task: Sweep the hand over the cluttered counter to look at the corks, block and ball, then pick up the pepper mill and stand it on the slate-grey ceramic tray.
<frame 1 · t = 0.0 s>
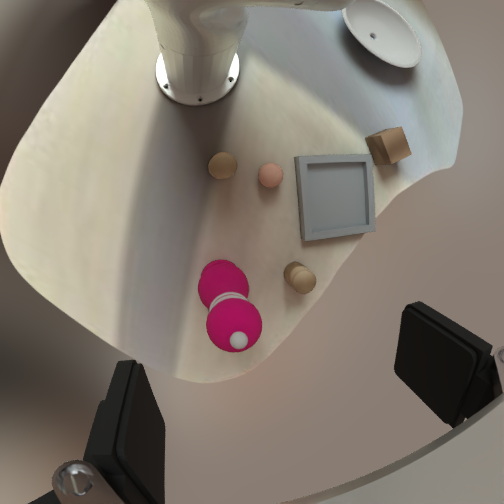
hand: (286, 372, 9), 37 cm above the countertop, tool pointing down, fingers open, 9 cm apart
ball: (270, 175, 43), point 2 cm above the countertop
tray: (335, 194, 47), on the countertop
dish: (370, 38, 41), on the countertop
walnut block: (380, 146, 47), on the countertop
cork b: (220, 166, 43), on the countertop
cork a: (294, 272, 49), on the countertop
pepper mill: (220, 278, 47), on the countertop
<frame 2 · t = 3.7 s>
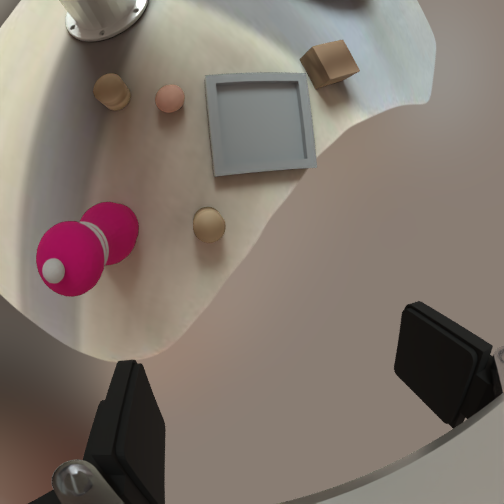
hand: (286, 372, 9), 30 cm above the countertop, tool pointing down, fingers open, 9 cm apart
ball: (169, 98, 32), point 2 cm above the countertop
tray: (259, 122, 36), on the countertop
walnut block: (321, 69, 36), on the countertop
cork b: (117, 97, 32), on the countertop
cork a: (207, 221, 38), on the countertop
pepper mill: (116, 227, 36), on the countertop
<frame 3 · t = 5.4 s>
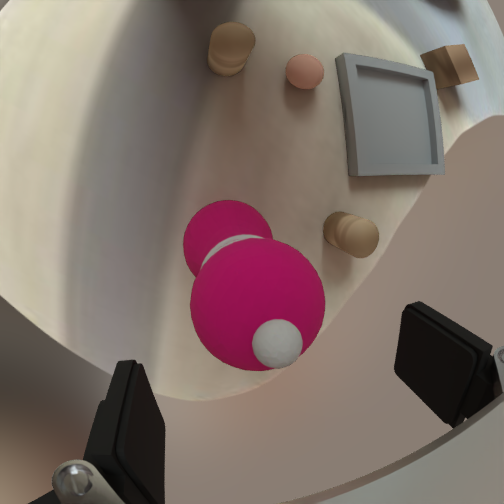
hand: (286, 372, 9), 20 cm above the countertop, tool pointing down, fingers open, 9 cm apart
ball: (304, 71, 24), point 2 cm above the countertop
tray: (391, 118, 28), on the countertop
walnut block: (437, 69, 28), on the countertop
cork b: (226, 59, 24), on the countertop
cork a: (338, 228, 30), on the countertop
pepper mill: (222, 234, 28), on the countertop
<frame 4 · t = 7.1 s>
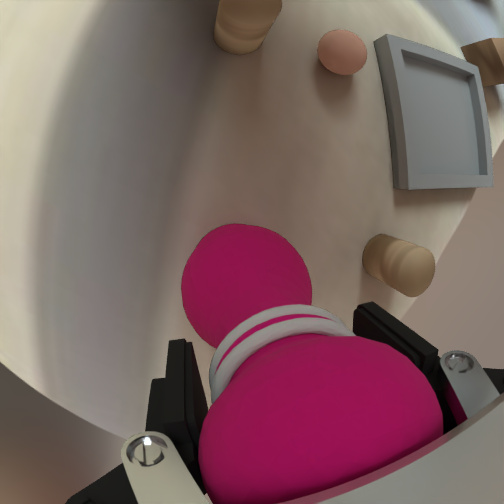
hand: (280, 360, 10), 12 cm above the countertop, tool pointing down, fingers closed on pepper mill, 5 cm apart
ball: (342, 52, 17), point 2 cm above the countertop
tray: (438, 118, 21), on the countertop
walnut block: (478, 65, 21), on the countertop
cork b: (238, 34, 17), on the countertop
cork a: (380, 255, 23), on the countertop
pepper mill: (234, 266, 21), on the countertop, touching gripper
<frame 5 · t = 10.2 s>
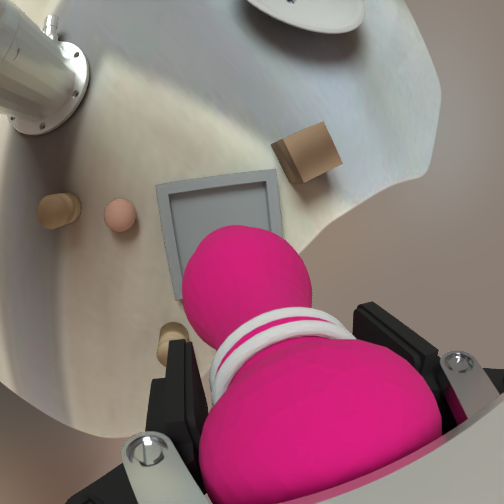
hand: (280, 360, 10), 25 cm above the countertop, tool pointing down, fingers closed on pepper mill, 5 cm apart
ball: (119, 215, 30), point 2 cm above the countertop
tray: (222, 232, 34), on the countertop
dish: (289, 3, 29), on the countertop
walnut block: (298, 154, 34), on the countertop
cork b: (68, 207, 30), on the countertop
cork a: (174, 334, 36), on the countertop
pepper mill: (235, 267, 21), point 14 cm above the countertop, touching gripper
when the fingers open (13 cm above the countertop, at t = 13.4 s): pepper mill stays where it is, resting on tray.
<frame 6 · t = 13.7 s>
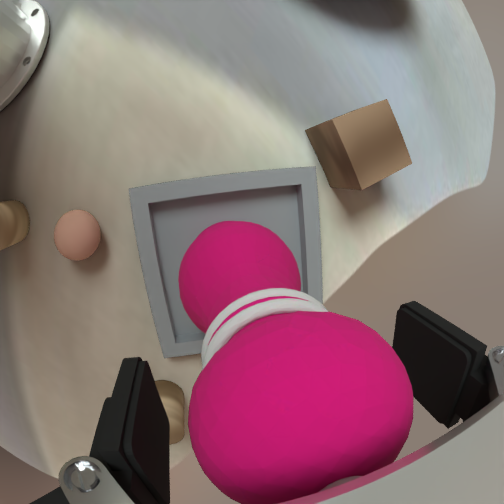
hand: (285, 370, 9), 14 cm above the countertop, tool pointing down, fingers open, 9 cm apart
ball: (77, 235, 18), point 2 cm above the countertop
tray: (231, 260, 23), on the countertop
walnut block: (342, 147, 23), on the countertop
cork b: (14, 221, 19), on the countertop
cork a: (164, 394, 25), on the countertop
pepper mill: (229, 261, 22), point 1 cm above the countertop, touching tray
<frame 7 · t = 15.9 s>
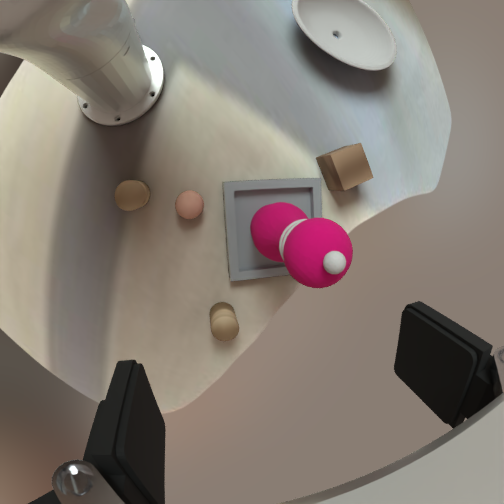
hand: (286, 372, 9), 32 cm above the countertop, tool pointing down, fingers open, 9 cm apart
ball: (189, 204, 37), point 2 cm above the countertop
tray: (272, 226, 41), on the countertop
dish: (334, 37, 36), on the countertop
walnut block: (336, 167, 41), on the countertop
cork b: (137, 194, 37), on the countertop
cork a: (222, 313, 43), on the countertop
pepper mill: (272, 226, 41), point 1 cm above the countertop, touching tray
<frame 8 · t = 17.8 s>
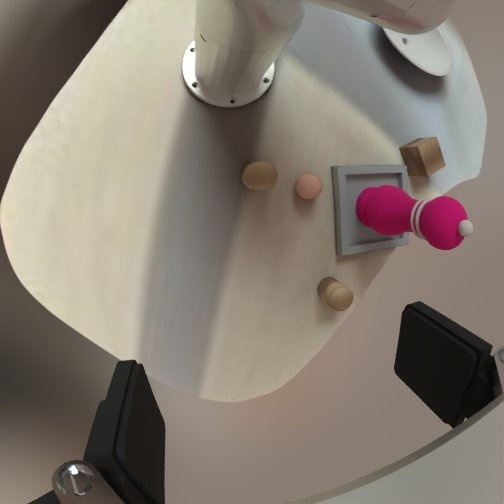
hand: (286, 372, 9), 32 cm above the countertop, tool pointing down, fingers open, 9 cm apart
ball: (308, 186, 39), point 2 cm above the countertop
tray: (370, 206, 44), on the countertop
dish: (402, 43, 38), on the countertop
walnut block: (413, 156, 44), on the countertop
cork b: (254, 176, 40), on the countertop
cork a: (328, 288, 46), on the countertop
pepper mill: (371, 206, 43), point 1 cm above the countertop, touching tray
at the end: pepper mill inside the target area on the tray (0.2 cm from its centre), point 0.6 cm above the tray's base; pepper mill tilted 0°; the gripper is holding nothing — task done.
